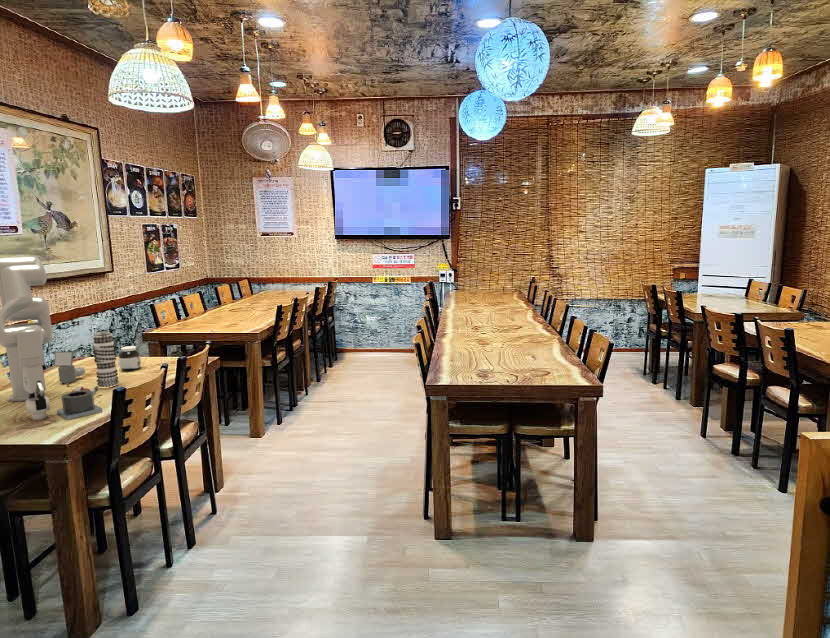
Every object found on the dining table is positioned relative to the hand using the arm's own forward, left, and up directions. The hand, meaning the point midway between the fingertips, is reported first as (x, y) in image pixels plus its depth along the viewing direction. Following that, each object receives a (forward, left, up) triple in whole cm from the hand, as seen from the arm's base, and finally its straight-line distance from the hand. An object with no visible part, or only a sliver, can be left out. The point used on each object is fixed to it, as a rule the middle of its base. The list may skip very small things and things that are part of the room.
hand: (38, 407), depth 208 cm
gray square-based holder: (+5, +12, -4) cm, 14 cm away
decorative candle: (-27, +34, -5) cm, 44 cm away
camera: (-51, +27, -5) cm, 58 cm away
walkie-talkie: (-19, +21, -5) cm, 29 cm away
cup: (0, 0, -4) cm, 4 cm away
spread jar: (-53, +53, -5) cm, 75 cm away
